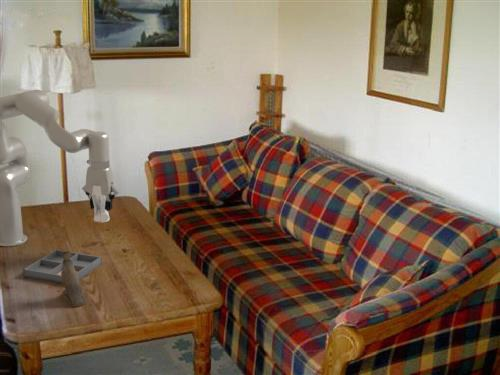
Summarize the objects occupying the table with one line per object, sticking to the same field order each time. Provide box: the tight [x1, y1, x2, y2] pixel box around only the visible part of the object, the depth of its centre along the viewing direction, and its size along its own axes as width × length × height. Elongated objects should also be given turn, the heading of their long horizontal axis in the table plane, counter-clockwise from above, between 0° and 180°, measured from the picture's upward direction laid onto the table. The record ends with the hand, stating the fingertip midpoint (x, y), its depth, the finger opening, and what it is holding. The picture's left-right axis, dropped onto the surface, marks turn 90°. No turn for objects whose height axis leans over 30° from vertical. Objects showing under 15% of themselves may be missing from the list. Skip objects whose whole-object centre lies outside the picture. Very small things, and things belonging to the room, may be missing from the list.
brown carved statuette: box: [61, 250, 87, 308], centre depth 216 cm, size 12×6×18 cm, turn 32°
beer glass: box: [92, 185, 110, 223], centre depth 248 cm, size 7×7×15 cm
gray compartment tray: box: [23, 249, 103, 285], centre depth 239 cm, size 20×20×3 cm
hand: (101, 208), depth 249 cm, fingers closed on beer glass, 6 cm apart
